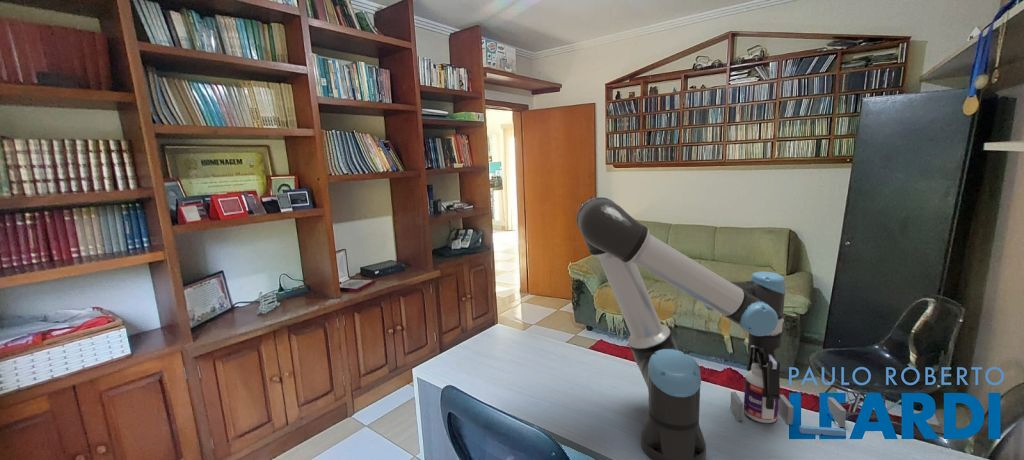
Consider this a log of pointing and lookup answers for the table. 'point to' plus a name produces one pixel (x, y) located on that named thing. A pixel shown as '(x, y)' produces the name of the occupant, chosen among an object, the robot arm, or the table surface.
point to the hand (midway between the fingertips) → (760, 408)
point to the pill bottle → (756, 395)
